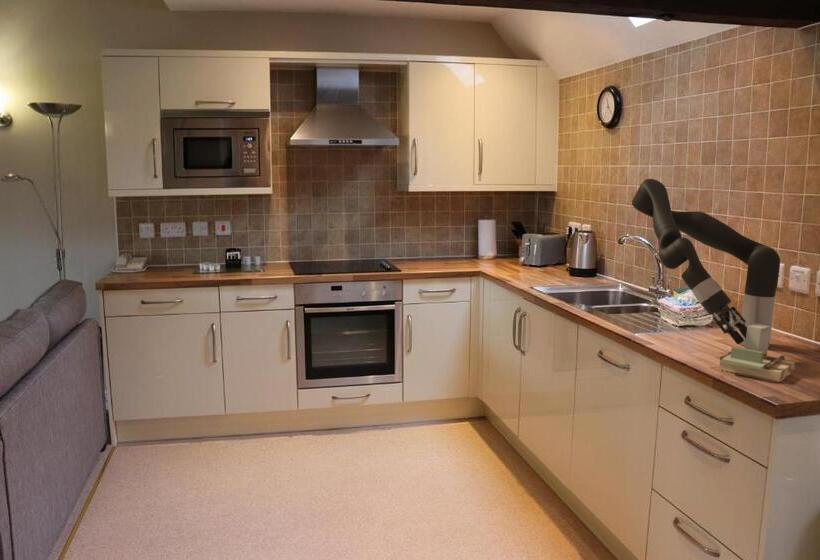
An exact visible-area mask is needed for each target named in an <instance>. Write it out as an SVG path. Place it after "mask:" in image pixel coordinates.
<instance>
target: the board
mask: <svg viewBox="0 0 820 560" xmlns="http://www.w3.org/2000/svg"><path fill="white" fill-rule="evenodd" d="M730 354H731V350H730V351H729V352H726V353H725V354H723V355H721V356H720V358H719V366H718V370H719V371H721V370H723V371H722V372H726V371H728V372H727V373H730V372H733V373H732V374H735V373H737V374H736V375H741V376H745V377H748V378H749V377H751V378H755V379H759V380H765V381H768V382H772V383H773V382H774V383H778V384H779V383H780V382H782V381H783V380H785V379H786V378H787V377H789V376H790V375H791V374H793V373H794V372H795V369H796V361H795V360H790V359H785V357H786V356H785V355H780V356H778V357H774V356H769V355H767V359H766V360H769V361H771V363H769V364H768V365H766V367H765V368H763V369H762V370H760V369H755V368H750V367H745V366H740V365H735V364H730V363H726V362H722V359H723V358H724V357H726V356H728V355H730Z"/></svg>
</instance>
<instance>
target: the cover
mask: <svg viewBox="0 0 820 560" xmlns="http://www.w3.org/2000/svg"><path fill="white" fill-rule="evenodd" d="M730 351H731V354H730V355H728V356H726V357H724V358H723V359H722V362H726V363H730V364H735V365H740V366H745V367H750V368H755V369H760V370H762V369H763V368H765V367H766V365H768V364H769V363H771V361H769V360H764V359H763V353H764V352H761V351H756V350H750V349H745V347H739V346H732V347H731V350H730Z"/></svg>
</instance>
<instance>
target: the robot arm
mask: <svg viewBox="0 0 820 560" xmlns="http://www.w3.org/2000/svg"><path fill="white" fill-rule="evenodd" d="M631 205H632V206H633V208H634V209H635V210H637V211H638V212H640V213H642V214H643V215H645V216H648V217H651V218H652V225H653V227H652V228H653V231H654V234H655V236H656V238H657V240H658V256H659V260H660V262H661V264H662V265H663V266H664V267H665V268H667V269H670V270H676V269H677V268H679V267H680V266H681V265H683V264H684V263H685V262H686V261H688V267H687V268H686V269H685V270H684V272H683V273H681V278H682V281H684V283H685V284H686V286H687V287H688V288H689V289H690V291H691V293H692V294H693V295H694V297H695V298H696V300H697V301H698V303H699V304H700V305H701V306H702V308H703V309H704V310H705V311H706V313H707V314H708V315H710V316H712V315H713V316H712V318H713V321H714V322H715V323H716V324H717V326H718V327H719V328H720V330H721V331H722V333H723V334H727V335H729V336H730V337H731V338H732V340H733V341H734V342H735V343H736V344H737V345H741V346H744V347H745V342H746V334H747V326H749V325H752V324H762V325H767V326H771V328H770V336H769V343H768V348H769V347H770V342H771V337H772V335H771V334H772V329H773V328H772V327H773V319H774V310H775V302H776V295H777V289H778V285H779V278H780V277H779V275H780V269H781V257H780V255H779V253H778V252H777V251H776V250H775V249H774V248H773V247H770V246H768V245H765V244H763V243H760V242H757V241H755V240H754V239H750V238H748V237H747V236H745V235H742V234H741V233H739V232H738V231H737V230H735V229H733V228H732V227H731V226H729V225H727V224H726V223H724V222H723V221H721V220H719V219H717V218H715V217H714V216H712V215H710V214H708V213H706V212H704V211H695V210H693V211H691V210H690V211H688V210H687V211H675V210H672V208H671V204H670V199H669V195H668V190H667V188H666V186H665V185H664V184H663V183H662V182H660V181H659V180H657V179H655V178H654V179H653V178H647V179H646V178H645V179H644V180H642V182H641V183H640V185H639V187H638V189H637V191H636V192H635V195H634V196H633V198H632V200H631ZM681 232H682V233H683V234H685V235H687V236H689V237H690V238H692V239H694V240H696V241H697V242H699V243H701V244H704V245H706V246H707V247H710V248H712V249H715V250H718V251H720V252H723V253H726V254H729V255H731V256H733V257H735V258H737V259H738V260H740V261H741V262H742V263H744V264H745V265H747V271H746V279H745V286H744V294H743V305H742V313H740V312H739V311H738V310H737V308H736V307H735V306H732V307H730V306H728V305H729V304H731V302H732V300H731V298H730V297H729V296H728V295H727V293H726V292H725V291H724V289H723V288H722V287H721V286H720V285H719V283H717V281H716V280H715V279H714V278H713V277H712V276H711V274H709V272H708V271H707V269H705V268H704V266H703V264H702V262H701V260H700V257H699V256H698V253H697V251H696V248H695V246H694V244H693V242H692V241H691V240H690V239H689V238H687V237H682V234H681ZM738 330H739V331H738Z"/></svg>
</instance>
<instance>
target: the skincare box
mask: <svg viewBox="0 0 820 560" xmlns="http://www.w3.org/2000/svg"><path fill="white" fill-rule="evenodd" d="M770 328H771V326H767V325H762V324H752V325H749V326H747V334H746V342H745V346H744V348H745V349H750V350H756V351H761V352H764V353H763V359H764V360H766V359H767V356H768V349H769V347H768V343H769V336H770Z"/></svg>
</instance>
